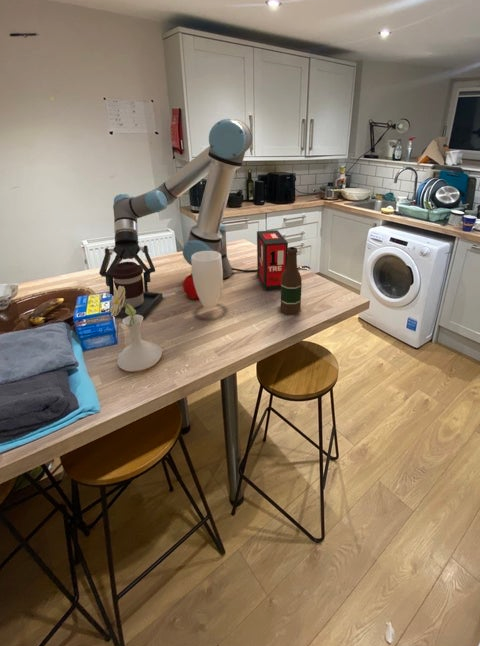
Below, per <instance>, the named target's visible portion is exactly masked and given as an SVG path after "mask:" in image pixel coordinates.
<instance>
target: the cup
mask: <svg viewBox="0 0 480 646" xmlns="http://www.w3.org/2000/svg"><path fill="white" fill-rule="evenodd" d="M191 264H192V265H191V273H192V274H191V275H192V276H193V282H194V286H195V289H196V292H197V295H198V297H199V298H198V299H199V301H200V303H201V304H202V306H203V308H206V309H213V308H215V307H217V305H218V303H219V301H220V298H221V294H222V289H223V283H224V282H223V281H224V279H223V269H222V259H221V254H220V253H218V252H215V251H200V252H197V253H194V254H193V255H192V256H191Z"/></svg>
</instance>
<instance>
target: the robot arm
mask: <svg viewBox="0 0 480 646" xmlns="http://www.w3.org/2000/svg"><path fill="white" fill-rule="evenodd" d="M252 143H253V133H252V130H251V129H250V127H249V126H248V125H247V124H246V122H244V121H242V120H239V119H232V118H224V119H221V120H219V121H217V122H215V124H214V125H213V126H212V127H211V129H210V131H209V134H208V144H209V146H207V147H206V148H204V149H203V151H201V152H199V154H198V155H197V156H195V157H194V158H193V159H191V160H190V161H189V162H188V163H186V164H185V165H184V166H182V167H181V168H180V169H179V170H178V171H177V172H175V173H174V174H173V175H172V176H170V177H169V178H168V179H167V180H165V181H164V182H163V183H162V184H160V185H159V186H158V187H156V188H153V189H152V190H150V191H147V192H145V193H142V194H140V195H137V196H133V195H132V194H129V193H124V194H123V193H119V194H116V196H114V198H113V205H112V207H113V208H112V209H113V219H114V221H113V222H114V223H113V229H114V230H113V231H114V247H113V248H108V247H105V248H104V256H103V260H102V263H101V266H100V269H99V273H98V274H99V275H100V276H101V277H102V278H105V285H106V287H108V288H109V295H110V294H112V296H111V297H114V293H115V284H114V278H112V277H111V274H110V271H111V270H112V269H113V268H114V267H115V265H117V264H119V263H122V262H123V261H124V260H133V259H134V260H135V261H136V263H137V264H138V265H140V266H142V268H143V273H142V276H143V290H144V292H149V289H148V283H151V274H152V273H155V272H156V268H155V266H154V263H153V261H152V258H151V256H150V253H149V247H148V245H143V246H140V245H139V232H138V219H140V218H143V217H146V216H150V215H152V214H156V213H160V212H162V211H165V210H166V209H167V208H168V206H170V205H172V204H173V203H174V202H175V201H176V200H177V199H179V197H180V196H182V195H183V194H184V193H186V192H187V191H188V190H190V189H191V188H192V187H193V186H195V185H196V184H198V183H199V182H200V181H201V180H202V179H204V178H205V177H207V178H206V182H205V186H204V191H203V195H202V200H201V203H200V207H199V212H198V216H197V219H196V223H195V224H194V225H193V226H191V227H190V231H189V234H188V240H187V241H186V242H185V243H184V245H183V248H182V256H183V258H184V260H185V261H186V262H187V263H188V265H190V266H192V264H191V256H192V255H193V254H194V253H197V252H200V251H215V252H218V253H220V254H221V259H222V269H223V280H225V279H228V278H230V277H231V275H232V274H233V271H236V272H237V271H238V272H243V273H254V272H257V269H240V268H236V267H235V268H234V267H232V265H231V263H230V260H229V258H228V252H227V251H228V249H227V230H226V225H225V224H224V223H223V219H224V215H225V211H226V208H227V204H228V200H229V196H230V193H231V189H232V185H233V181H234V178H235V175H236V170H239V169H240V168H241V167H242V166H243V163H244V159H245V154H246V152H247V151H248V150H249V149H250V148H251V146H252ZM140 252H141V253H143V254H144V256H145V259H146V261H147V263H148V265H149V267H148V266H147V265H146V264H145V263H144V261H143V260H142V259H141V258H140V256H139V255H138V254H139V253H140ZM114 253H115V254H116V255H115V256H114V259H113V261H112V262H111V264H110V261H111V257H112V256H113V254H114ZM109 264H110V266H109ZM300 267H302V268H300ZM305 268H306V269H308V270H311V267H310V266H309V265H303V266H297V270H300V269H305Z"/></svg>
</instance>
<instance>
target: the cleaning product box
mask: <svg viewBox="0 0 480 646" xmlns="http://www.w3.org/2000/svg"><path fill="white" fill-rule="evenodd" d="M288 248H289V242H288V241H287V240H286V238H285V237H284V236H283V235H282V234H281V233H280V232H279V230H278V229H275V230H274V229H271V230H257V231H256V257H257V258H256V262H257V264H256V265H257V267H256V270H257V271H256V272H257V276H258V278H259V280H260V282H261V285H262V286H263V289H264V291H274V290H276V291H277V290H281V276H282V274H283V272H284V271H285V269H286V266H287V256H288V252H287V249H288Z"/></svg>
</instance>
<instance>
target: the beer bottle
mask: <svg viewBox="0 0 480 646" xmlns="http://www.w3.org/2000/svg"><path fill="white" fill-rule="evenodd" d="M287 252H288V256H287V266H286V269H285V271H284V272H283V274H282V276H281V289H280V312H281V313H283V314H285V315H286V316H287V315H288V316H289V315H292V316H293V315H296V314H298V313H300V312H301V306H302V304H301V303H302V288H303V287H302V276H301V273H300V270H299V269H297V267H298V256H297V255H298V248H297V247H294V246H290V247H289V246H288V249H287Z"/></svg>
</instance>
